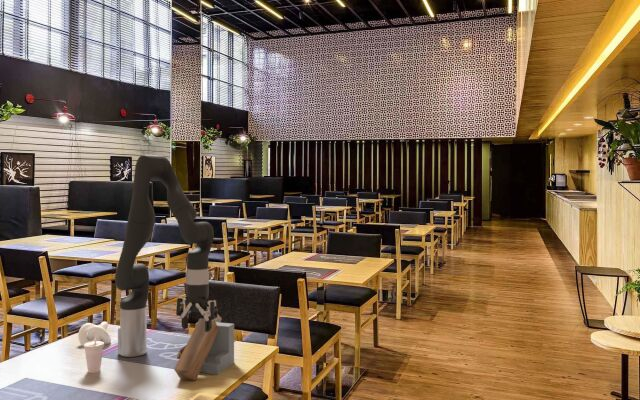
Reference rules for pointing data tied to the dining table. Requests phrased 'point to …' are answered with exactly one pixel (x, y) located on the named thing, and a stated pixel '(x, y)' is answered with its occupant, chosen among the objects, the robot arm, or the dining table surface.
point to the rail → (196, 351)
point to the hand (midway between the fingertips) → (196, 329)
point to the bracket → (220, 350)
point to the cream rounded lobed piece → (89, 337)
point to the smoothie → (94, 354)
